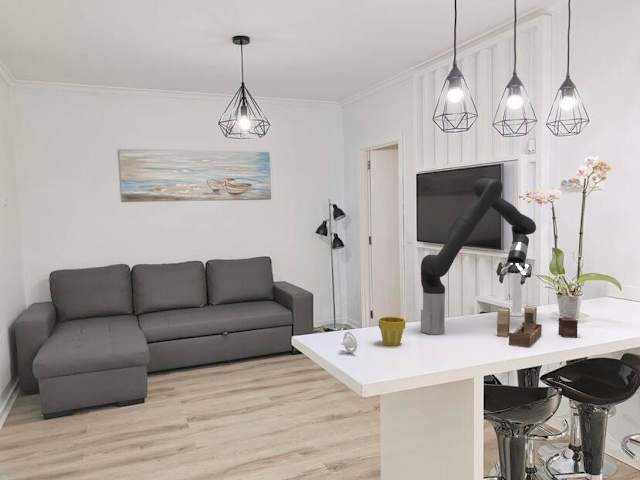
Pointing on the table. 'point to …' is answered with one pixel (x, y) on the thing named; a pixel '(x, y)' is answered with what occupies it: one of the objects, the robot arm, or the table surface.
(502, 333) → the block
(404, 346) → the table surface
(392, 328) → the plant pot
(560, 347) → the table surface
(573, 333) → the box
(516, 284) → the candle
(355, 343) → the ring around a ball
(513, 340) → the rail
